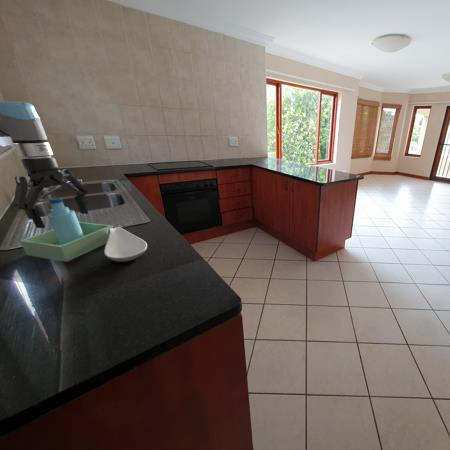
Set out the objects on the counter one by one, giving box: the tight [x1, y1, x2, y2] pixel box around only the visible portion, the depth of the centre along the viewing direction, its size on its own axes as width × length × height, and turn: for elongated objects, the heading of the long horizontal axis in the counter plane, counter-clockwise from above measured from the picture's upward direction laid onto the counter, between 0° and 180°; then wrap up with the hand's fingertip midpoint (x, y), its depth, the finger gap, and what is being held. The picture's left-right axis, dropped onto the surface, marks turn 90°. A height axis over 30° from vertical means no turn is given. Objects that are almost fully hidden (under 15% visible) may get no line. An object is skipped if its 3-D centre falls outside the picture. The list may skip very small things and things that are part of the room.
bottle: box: [46, 196, 84, 245], centre depth 83 cm, size 7×7×18 cm
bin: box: [19, 221, 114, 263], centre depth 86 cm, size 18×18×6 cm
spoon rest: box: [104, 226, 148, 263], centre depth 83 cm, size 24×12×7 cm, turn 48°
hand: (64, 219), depth 82 cm, fingers open, 13 cm apart
